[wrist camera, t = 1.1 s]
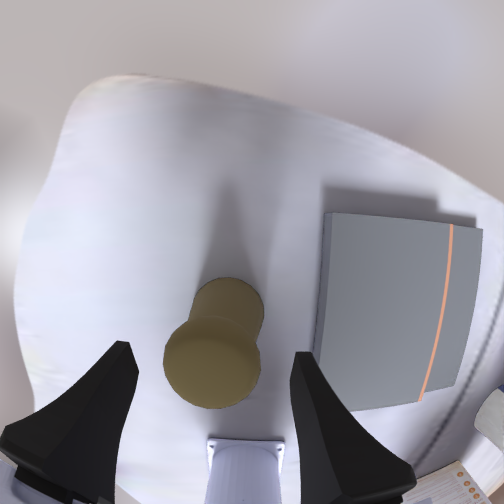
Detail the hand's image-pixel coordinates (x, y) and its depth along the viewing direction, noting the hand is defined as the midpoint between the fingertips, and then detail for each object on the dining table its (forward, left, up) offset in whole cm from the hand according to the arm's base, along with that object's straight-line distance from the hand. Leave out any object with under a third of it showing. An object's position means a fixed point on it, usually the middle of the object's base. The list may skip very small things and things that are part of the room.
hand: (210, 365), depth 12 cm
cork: (-1, 0, -12) cm, 12 cm away
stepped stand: (-1, -16, -12) cm, 20 cm away
